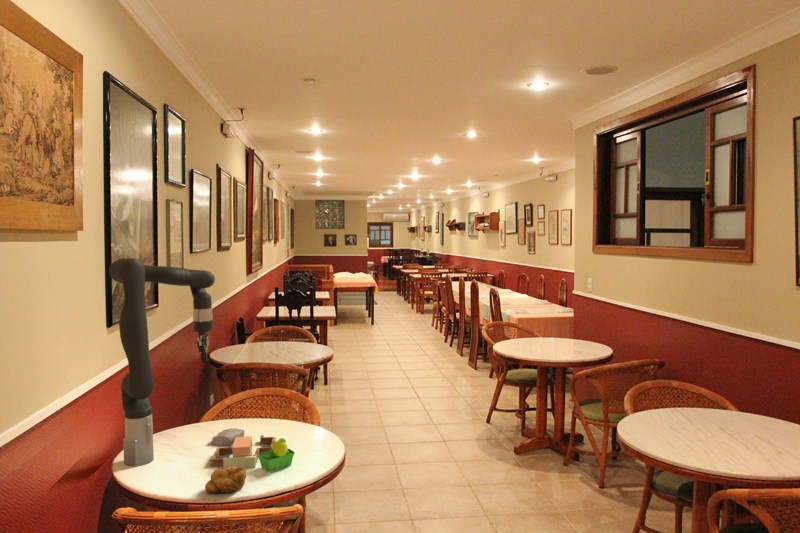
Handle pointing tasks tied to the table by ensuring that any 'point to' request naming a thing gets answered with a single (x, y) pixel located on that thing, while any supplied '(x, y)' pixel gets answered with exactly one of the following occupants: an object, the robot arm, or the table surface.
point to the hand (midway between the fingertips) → (204, 361)
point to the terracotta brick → (242, 446)
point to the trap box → (226, 451)
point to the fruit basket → (276, 457)
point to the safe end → (239, 462)
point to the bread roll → (226, 480)
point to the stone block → (227, 436)
